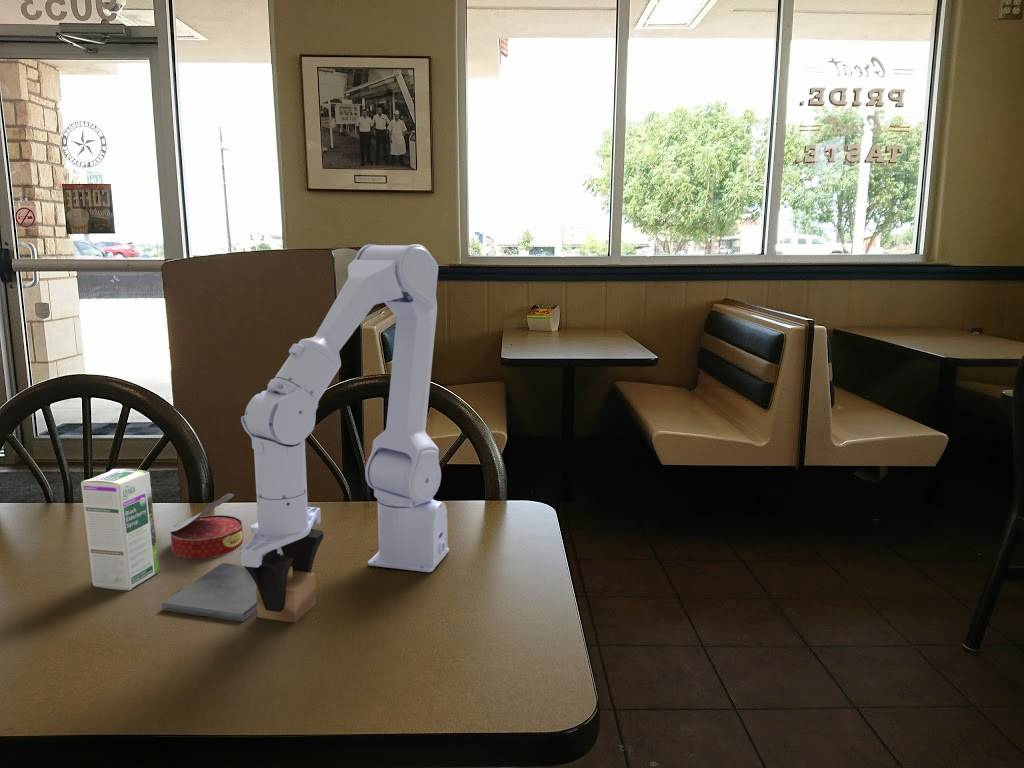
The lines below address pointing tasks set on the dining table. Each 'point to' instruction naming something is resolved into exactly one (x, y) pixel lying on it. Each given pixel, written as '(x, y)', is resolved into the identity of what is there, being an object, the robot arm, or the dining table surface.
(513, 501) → the dining table surface
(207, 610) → the grey square baseplate
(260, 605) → the block
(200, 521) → the canned food
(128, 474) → the syrup box
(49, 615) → the dining table surface
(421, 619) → the dining table surface
